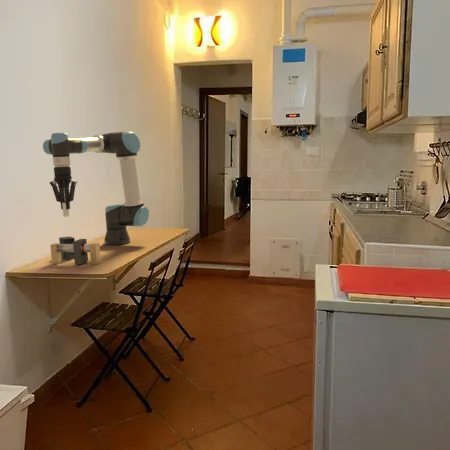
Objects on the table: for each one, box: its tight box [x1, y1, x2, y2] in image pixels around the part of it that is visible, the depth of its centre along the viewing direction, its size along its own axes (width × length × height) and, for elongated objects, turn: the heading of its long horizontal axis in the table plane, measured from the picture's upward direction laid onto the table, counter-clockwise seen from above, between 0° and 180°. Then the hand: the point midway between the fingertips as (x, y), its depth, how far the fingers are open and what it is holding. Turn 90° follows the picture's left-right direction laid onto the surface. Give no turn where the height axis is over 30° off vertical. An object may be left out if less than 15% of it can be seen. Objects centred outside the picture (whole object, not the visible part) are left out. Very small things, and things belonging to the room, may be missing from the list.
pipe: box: [50, 242, 102, 265], centre depth 225 cm, size 23×4×10 cm, turn 81°
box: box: [58, 236, 76, 260], centre depth 240 cm, size 8×6×11 cm
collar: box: [73, 238, 89, 265], centre depth 225 cm, size 3×8×11 cm, turn 170°
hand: (66, 216), depth 224 cm, fingers closed
